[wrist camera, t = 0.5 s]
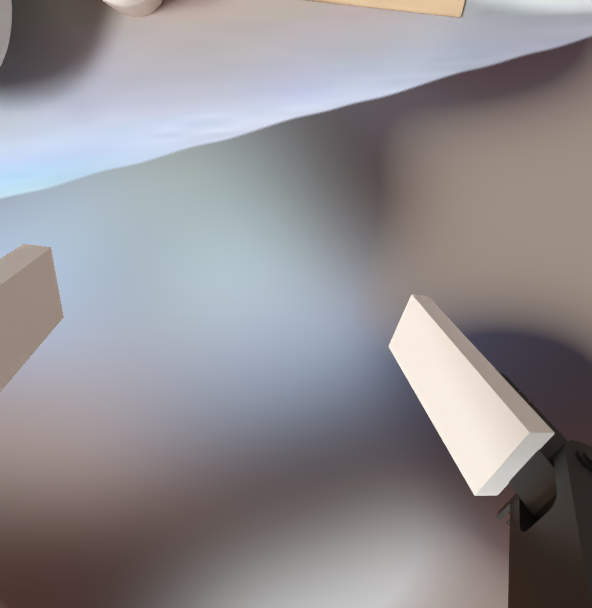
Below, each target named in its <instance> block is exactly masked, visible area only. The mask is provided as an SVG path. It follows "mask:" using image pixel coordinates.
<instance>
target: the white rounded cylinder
mask: <svg viewBox="0 0 592 608" xmlns="http://www.w3.org/2000/svg"><path fill="white" fill-rule="evenodd" d="M102 1H104V2H105V3H106V4H108V5H109V6H110V7H112V8H113V9H115V10H116V11H118V12H120V13H122V14H124V15H127V16H131V17H143V16H147V15H149V14H151V13H153V12H154V11H155V10H156V9H157V8H158V7H159V6H160V5H161V3H162V1H163V0H102Z"/></svg>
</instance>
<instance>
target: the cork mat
mask: <svg viewBox="0 0 592 608" xmlns="http://www.w3.org/2000/svg"><path fill="white" fill-rule="evenodd" d="M308 1H317V2H325V3H334V4H343V5H352V6H361V7H370V8H378V9H387V10H396V11H405V12H414V13H423V14H431V15H440V16H449V17H458V18H459V17H461V14H462V10H463V6H464V2H465V0H308Z"/></svg>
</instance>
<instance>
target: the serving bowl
mask: <svg viewBox="0 0 592 608" xmlns="http://www.w3.org/2000/svg"><path fill="white" fill-rule="evenodd" d="M11 25H12V1H11V0H0V66H1V64H2V62H3V60H4V57H5V54H6V52H7V48H8V44H9V40H10V34H11Z"/></svg>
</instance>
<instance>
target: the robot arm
mask: <svg viewBox="0 0 592 608" xmlns="http://www.w3.org/2000/svg"><path fill="white" fill-rule="evenodd" d="M62 319H63V312H62V306H61V301H60V295H59V290H58V284H57V279H56V273H55V268H54V263H53V257H52V251H51V247H43V246H35V245H27V244H23V245H21V246H20V247H18V248H17V249H15V250H14V251H12V252H11V253H9V254H7V255H6V256H4V257H3V258H1V259H0V392H1V390H2V389H3V388H4V387H5V386H6V384H7V383H8V382H9V381H10V380H11V379H12V377H13V376H14V375H15V374H16V373H17V372H18V370H19V369H20V368H21V367H22V366H23V364H24V363H25V362H26V361H27V360H28V359H29V357H30V356H31V355H32V354H33V353H34V351H35V350H36V349H37V348H38V347H39V346H40V344H41V343H42V342H43V341H44V340H45V339H46V337H47V336H48V335H49V334H50V333H51V332H52V330H53V329H54V328H55V327H56V325H57V324H58V323H59V322H60V321H61V320H62ZM389 348H390V350H391V352H392V353H393V355H394V357H395V358H396V360H397V362H398V364H399V365H400V367H401V369H402V371H403V372H404V374H405V376H406V377H407V379H408V381H409V383H410V385H411V386H412V388H413V390H414V391H415V393H416V395H417V396H418V398H419V400H420V402H421V403H422V405H423V407H424V409H425V410H426V412H427V414H428V416H429V417H430V419H431V421H432V423H433V424H434V426H435V428H436V429H437V431H438V433H439V435H440V437H441V438H442V440H443V442H444V443H445V445H446V447H447V449H448V450H449V452H450V454H451V456H452V457H453V459H454V461H455V462H456V464H457V466H458V468H459V469H460V471H461V473H462V475H463V476H464V478H465V480H466V482H467V483H468V485H469V486H470V488H471V490H472V492H473V494H474V495H475V496H483V495H485V496H486V495H487V496H488V495H498V494H499V493H500V492H501V491H502V490H503V489H504V488H505V487H506V486H507V484H508V483H510V484H511V486H512V487H513V489H514V490H515V491H516V494H515V495H514V496H513V497H512V498H511V499H510V500H509V501H508V502H507V503H506V504H505V505H504V506H503V507H502V508H501V509H500V510H499V511H498V514H497V518H499V519H502V518H503V517H504V516H505V515H506V514H507V513H510V520H509V521H508V522H507V523H506V524H508V525H509V526H510V542H509V545H510V546H509V594H508V596H509V597H508V608H592V447H591V446H589V445H587V444H584V443H582V442H579V441H572V440H570V441H567V440H566V439H565V438H564V437H563V436H562V434H561V433H559V431H558V430H557V429H556V428H555V427H554V426H553V425H552V424H551V423H550V422H549V421H548V420H547V419H546V418H545V417H544V415H543V414H542V413H541V412H540V411H539V410H538V409H537V408H536V407H535V406H534V405H533V404H532V403H531V402H528V399H527V397H526V396H525V395H524V394H523V393H522V392H519V389H518V388H517V387H516V386H515V385H514V384H513V383H512V381H510V379H509V378H508V377H506V376H505V375H504V374H502V373H501V372H500V371H498V370H497V369H496V368H494V367H493V366H492V365H491V364H490V363H489V362H488V360H487V359H485V357H484V356H483V355H482V354H481V353H480V352H479V351H478V350H477V349H476V348H475V347H474V345H473V344H472V343H471V342H470V341H469V340H468V339H467V338H466V337H465V336H464V335H463V334H462V332H461V331H459V329H458V328H457V327H456V326H455V325H454V324H453V323H452V322H451V321H450V320H449V319H448V317H447V316H446V315H445V314H444V313H443V312H442V311H441V310H440V309H439V308H438V307H437V306H436V304H435V303H434V302H433V301H432V300H431V299H430V298H429V297H428V296H420V295H413V294H412V295H411V297H410V299H409V301H408V304H407V306H406V308H405V310H404V313H403V315H402V317H401V319H400V322H399V324H398V326H397V328H396V331H395V333H394V335H393V338H392V340H391V342H390V344H389Z"/></svg>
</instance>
